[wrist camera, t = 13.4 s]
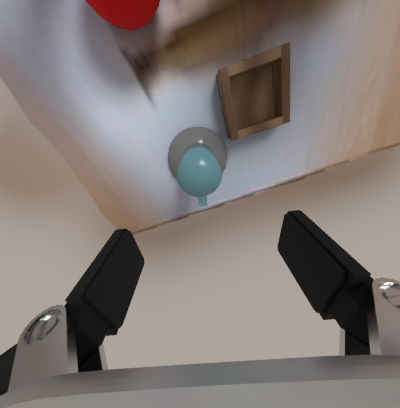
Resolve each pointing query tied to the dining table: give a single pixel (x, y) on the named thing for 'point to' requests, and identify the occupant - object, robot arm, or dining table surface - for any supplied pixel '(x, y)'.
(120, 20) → the tomato
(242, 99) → the cradle
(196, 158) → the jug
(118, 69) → the dining table surface
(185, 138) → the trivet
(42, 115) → the dining table surface
